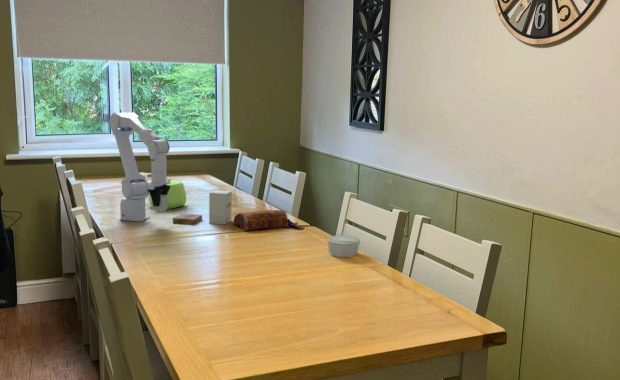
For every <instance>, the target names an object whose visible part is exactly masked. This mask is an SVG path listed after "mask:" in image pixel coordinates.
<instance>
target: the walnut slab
mask: <svg viewBox="0 0 620 380" xmlns="http://www.w3.org/2000/svg"><path fill="white" fill-rule="evenodd" d="M202 220H203V214H194V213H193V214H191V213H180V214H177V215H176V216H173V218H172V223H173V224H182V225H184V224H185V225H197V224H198V223H199V222H201V221H202Z"/></svg>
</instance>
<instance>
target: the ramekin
mask: <svg viewBox="0 0 620 380" xmlns="http://www.w3.org/2000/svg"><path fill="white" fill-rule="evenodd" d="M326 241H327V246H328V253H329V254H330V255H331V256H332V255H334V256H333V257H335V256H339V257H338V258H342V257H348V258H351V257H350V256H354V255H355V256H357V254H358V252H359V246H360V244H361V239H360V238H358V237H356V236H352V235H338V234H337V235H331V236H329V237H327V239H326ZM355 256H354V257H355Z"/></svg>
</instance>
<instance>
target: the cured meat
mask: <svg viewBox="0 0 620 380" xmlns="http://www.w3.org/2000/svg"><path fill="white" fill-rule="evenodd" d="M233 218H234V219H233V225H234V226H240V227H239V228H240V229H241V230H243V231H252V230H254V231H255V230H261V229H272V228H281V227H282V226H283V227H287V226H288V225H291V226H293V227H296V228H297V229H303V228H304V225H301V224H300V225H298V222H293V221H291V220H290V218H288V214H287V212H286V211H285V210H282V209H267V210H255V211H249V212H240V213H237V214H236V215H235V216H234V217H233Z"/></svg>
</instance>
